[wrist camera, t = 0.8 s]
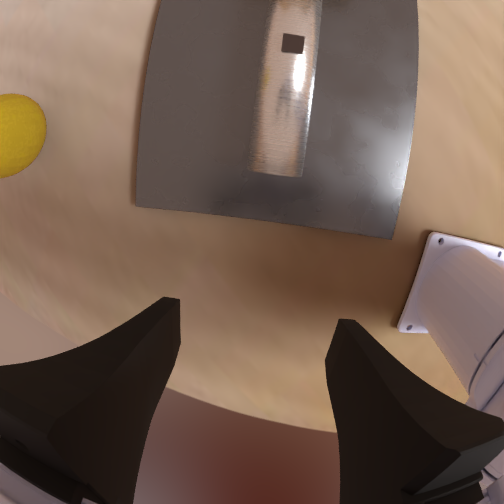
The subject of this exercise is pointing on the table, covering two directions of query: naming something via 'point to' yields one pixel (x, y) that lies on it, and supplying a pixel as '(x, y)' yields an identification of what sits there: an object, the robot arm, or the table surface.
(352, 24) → the plate
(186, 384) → the table surface
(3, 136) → the lemon
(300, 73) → the tube
